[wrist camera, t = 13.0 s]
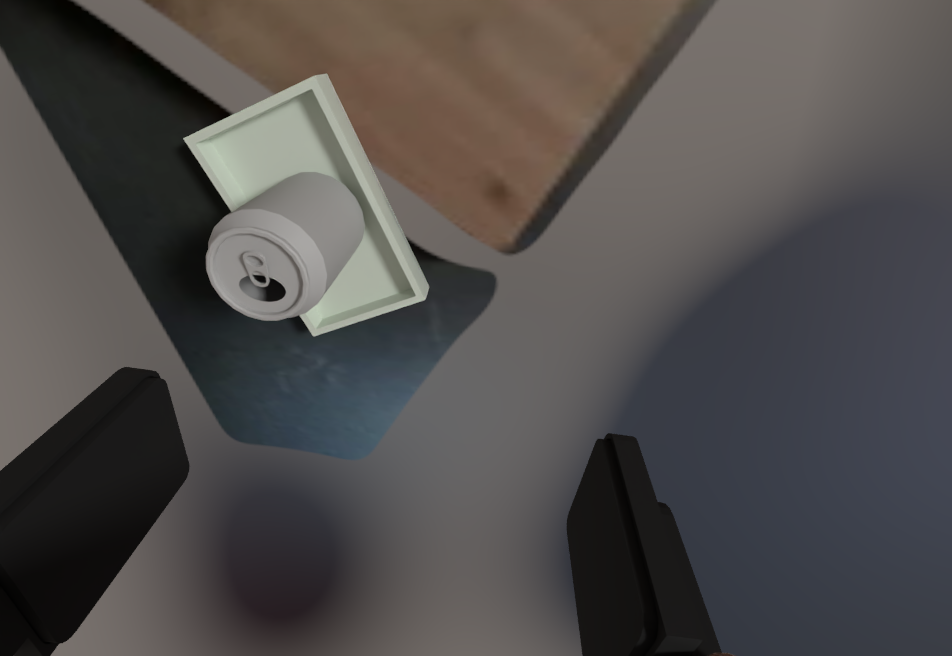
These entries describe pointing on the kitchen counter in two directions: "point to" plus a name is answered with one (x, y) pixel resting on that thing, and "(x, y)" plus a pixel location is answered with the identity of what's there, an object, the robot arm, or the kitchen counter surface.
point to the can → (285, 246)
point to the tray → (327, 152)
